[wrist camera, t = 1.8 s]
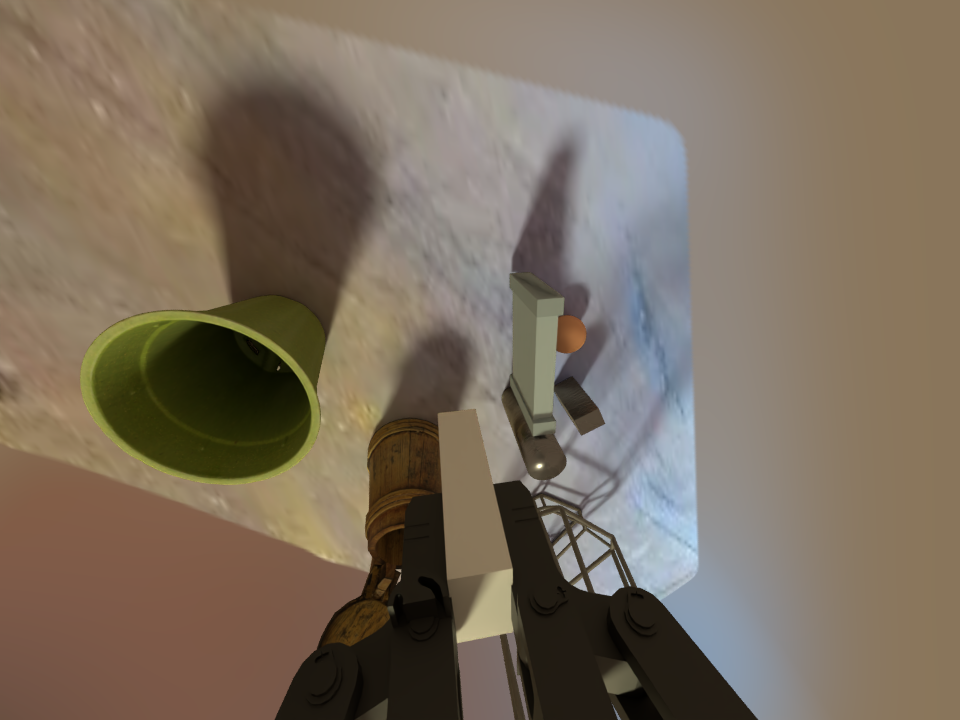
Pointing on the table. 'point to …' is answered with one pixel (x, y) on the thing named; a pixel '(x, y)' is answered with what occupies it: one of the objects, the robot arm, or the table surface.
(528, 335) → the grey-green flanged panel
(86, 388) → the plant pot
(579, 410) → the block
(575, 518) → the geometric lantern
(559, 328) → the ball
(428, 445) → the wooden mug
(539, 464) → the hinge post
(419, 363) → the table surface
